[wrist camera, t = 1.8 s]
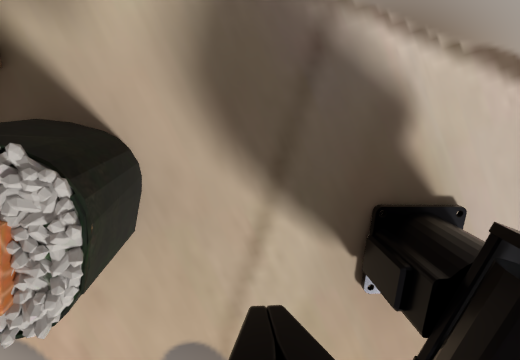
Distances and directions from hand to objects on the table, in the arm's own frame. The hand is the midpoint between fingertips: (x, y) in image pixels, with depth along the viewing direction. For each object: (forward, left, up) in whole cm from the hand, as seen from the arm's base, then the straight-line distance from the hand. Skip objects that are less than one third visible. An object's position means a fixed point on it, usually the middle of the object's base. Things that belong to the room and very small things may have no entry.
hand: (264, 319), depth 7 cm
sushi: (+10, 0, -11) cm, 15 cm away
